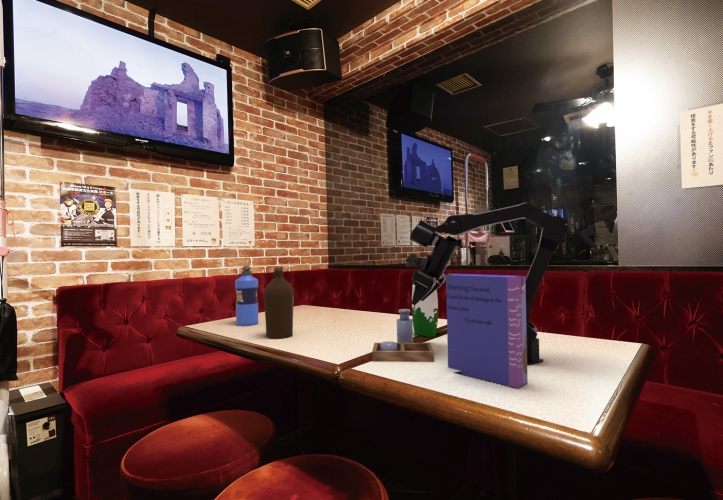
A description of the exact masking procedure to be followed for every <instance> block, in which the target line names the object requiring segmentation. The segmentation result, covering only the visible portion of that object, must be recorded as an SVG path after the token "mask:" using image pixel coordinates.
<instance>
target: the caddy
mask: <svg viewBox="0 0 723 500" xmlns="http://www.w3.org/2000/svg"><path fill="white" fill-rule="evenodd" d="M381 343H382V342H374V344H373V347H372V351H371V353H372V354H371V355H372V356H371V358H372V360H371V361H372V362H393V363H395V362H398V363H400V362H403V363H405V362H408V363H410V362H411V363H422V362H423V363H434V362H435V355H434V353H435V351H434V349H433V347H432V343H431V342H413V343H397V342H396V343H397V351H381Z"/></svg>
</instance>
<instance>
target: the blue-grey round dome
mask: <svg viewBox="0 0 723 500" xmlns="http://www.w3.org/2000/svg"><path fill="white" fill-rule="evenodd" d="M380 343H381V351H397V341H396V342H395V341H391V340H390V341H382V342H380Z"/></svg>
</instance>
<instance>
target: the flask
mask: <svg viewBox="0 0 723 500" xmlns="http://www.w3.org/2000/svg"><path fill="white" fill-rule="evenodd" d="M398 313H399V318H397V319H396V343H414V337H413V336H414V328H413V320H412V318H410V313H411V309H409V308H401V309H398Z"/></svg>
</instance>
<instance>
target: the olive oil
mask: <svg viewBox="0 0 723 500" xmlns="http://www.w3.org/2000/svg"><path fill="white" fill-rule="evenodd" d="M283 269H284V267H283V266H275V267H273V278H272V279H271V280H270V281H269V283H267V285H266V286H265V287H264V288H265V289H264V292H263V302H264V303H263V305H264V316H265V317H264V318H265V336H266V338H267V339H275V340H276V339H277V340H280V339H287V338H290V337H292V336H293V334H294V298H295V297H294V296H295V293H294V289H293V287H292V285H291V284H290V283H289V282H288V281H287V280H286V278H284V270H283Z"/></svg>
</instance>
